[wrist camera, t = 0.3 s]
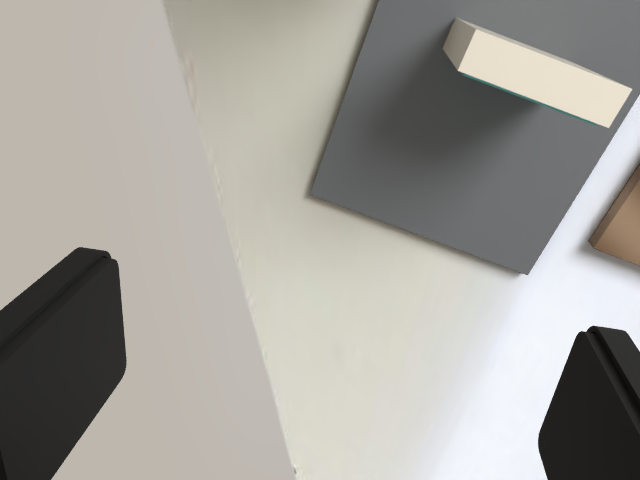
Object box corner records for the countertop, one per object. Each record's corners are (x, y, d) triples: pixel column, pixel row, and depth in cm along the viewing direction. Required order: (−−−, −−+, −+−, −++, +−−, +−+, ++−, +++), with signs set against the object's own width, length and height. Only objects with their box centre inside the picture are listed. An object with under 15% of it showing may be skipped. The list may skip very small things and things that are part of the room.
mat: (413, -97, 32) (414, -99, 31) (685, 8, 33) (691, 9, 32) (311, 191, 41) (309, 194, 40) (525, 270, 42) (527, 275, 41)
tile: (455, 17, 34) (476, 29, 25) (571, 61, 34) (632, 89, 25) (441, 50, 35) (456, 73, 26) (553, 93, 35) (607, 130, 26)
